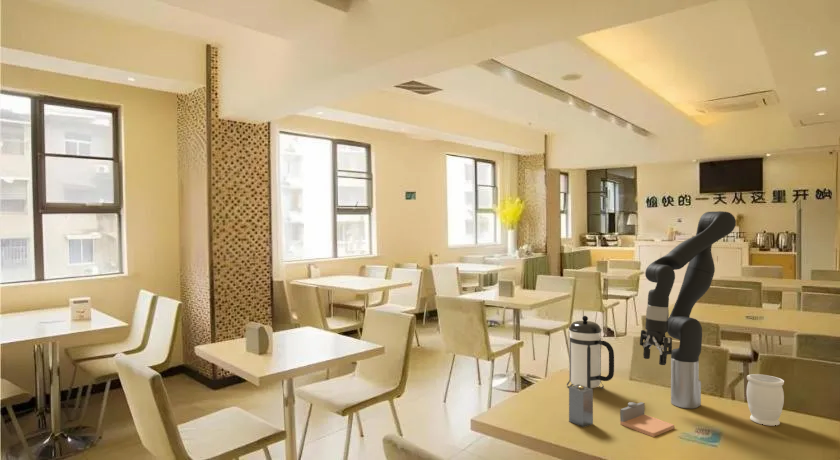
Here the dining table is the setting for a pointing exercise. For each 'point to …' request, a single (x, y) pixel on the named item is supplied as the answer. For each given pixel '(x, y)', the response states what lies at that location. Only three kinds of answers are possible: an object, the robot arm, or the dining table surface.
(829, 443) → the dining table surface
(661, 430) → the dock
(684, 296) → the robot arm
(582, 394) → the block
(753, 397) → the jar
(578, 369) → the coffee press
